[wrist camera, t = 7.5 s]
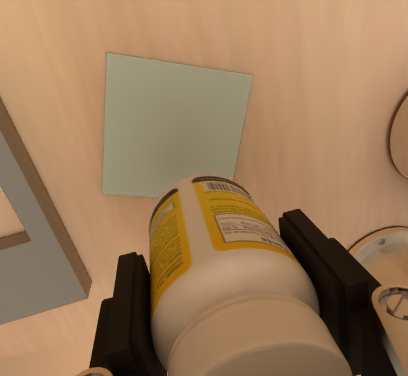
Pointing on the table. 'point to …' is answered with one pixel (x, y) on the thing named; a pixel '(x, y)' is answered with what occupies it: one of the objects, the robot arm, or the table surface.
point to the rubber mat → (169, 123)
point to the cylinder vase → (400, 139)
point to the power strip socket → (33, 239)
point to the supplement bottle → (231, 289)
